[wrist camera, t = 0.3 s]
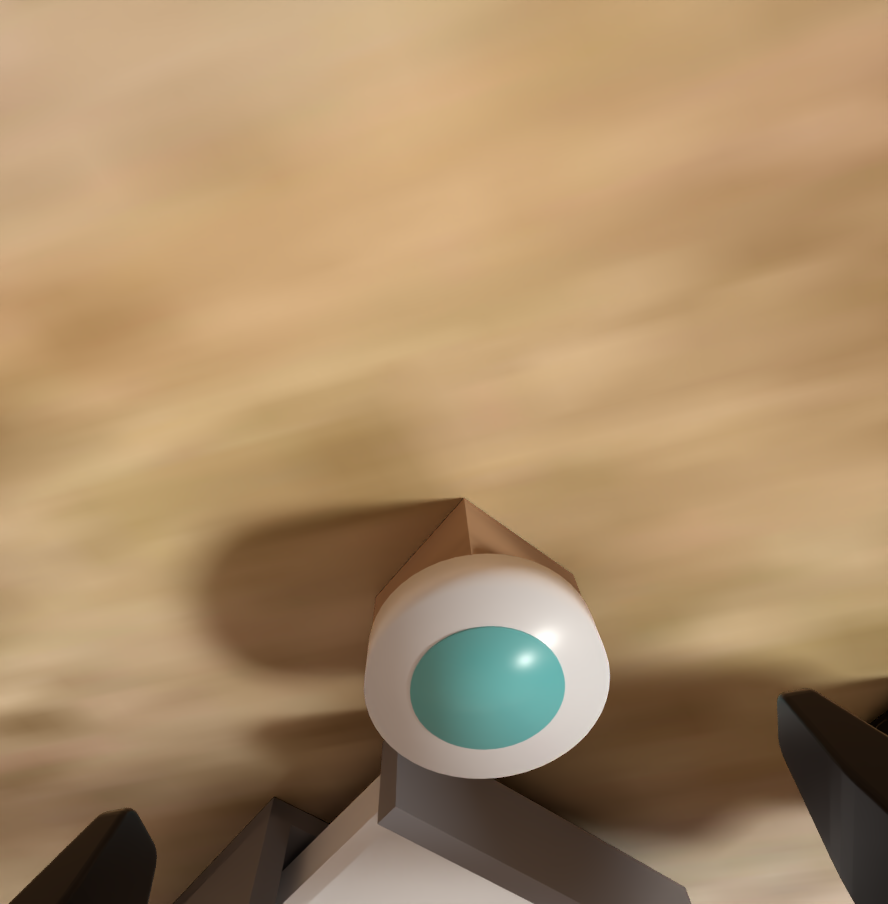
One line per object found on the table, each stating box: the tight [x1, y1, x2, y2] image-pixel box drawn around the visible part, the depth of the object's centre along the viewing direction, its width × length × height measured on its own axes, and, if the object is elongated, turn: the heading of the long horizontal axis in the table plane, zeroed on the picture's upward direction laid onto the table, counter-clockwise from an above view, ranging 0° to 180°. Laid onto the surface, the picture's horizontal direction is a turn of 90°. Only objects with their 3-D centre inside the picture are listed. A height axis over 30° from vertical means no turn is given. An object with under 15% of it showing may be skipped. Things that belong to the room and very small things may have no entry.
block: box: [373, 498, 581, 623], centre depth 22 cm, size 5×5×4 cm
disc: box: [364, 553, 610, 779], centre depth 19 cm, size 7×7×2 cm
